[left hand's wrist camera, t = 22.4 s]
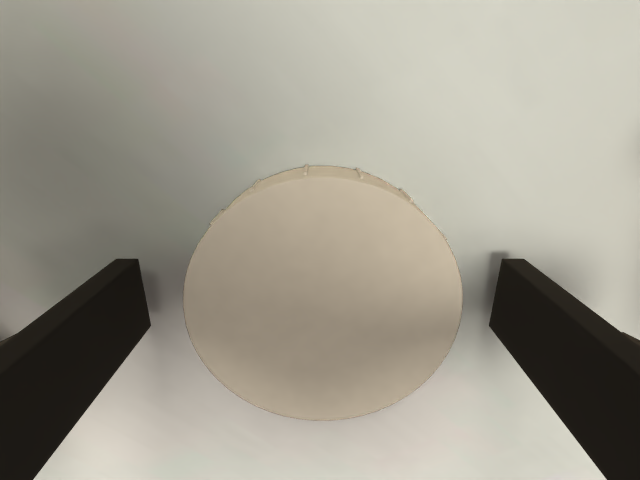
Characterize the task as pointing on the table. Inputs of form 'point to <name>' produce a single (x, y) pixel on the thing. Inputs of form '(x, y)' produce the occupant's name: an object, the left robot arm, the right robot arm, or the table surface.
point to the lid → (322, 294)
